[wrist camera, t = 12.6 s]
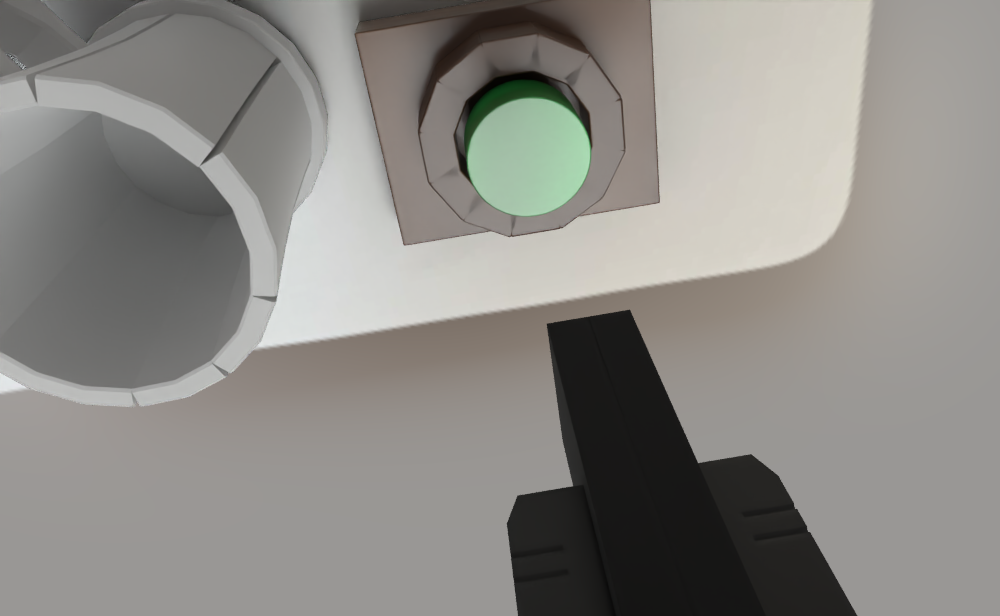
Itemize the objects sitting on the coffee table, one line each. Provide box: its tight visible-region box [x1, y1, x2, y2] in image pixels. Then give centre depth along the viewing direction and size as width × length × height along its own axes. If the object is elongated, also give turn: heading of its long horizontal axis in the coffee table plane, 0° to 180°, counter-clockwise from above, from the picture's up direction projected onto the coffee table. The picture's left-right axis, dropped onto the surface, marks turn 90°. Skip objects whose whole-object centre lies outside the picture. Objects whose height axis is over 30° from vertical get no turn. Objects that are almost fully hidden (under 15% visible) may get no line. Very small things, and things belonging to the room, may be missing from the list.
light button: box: [464, 79, 591, 217], centre depth 26 cm, size 4×4×2 cm
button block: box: [355, 0, 660, 245], centre depth 28 cm, size 10×8×4 cm
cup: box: [0, 0, 328, 407], centre depth 24 cm, size 10×9×12 cm
